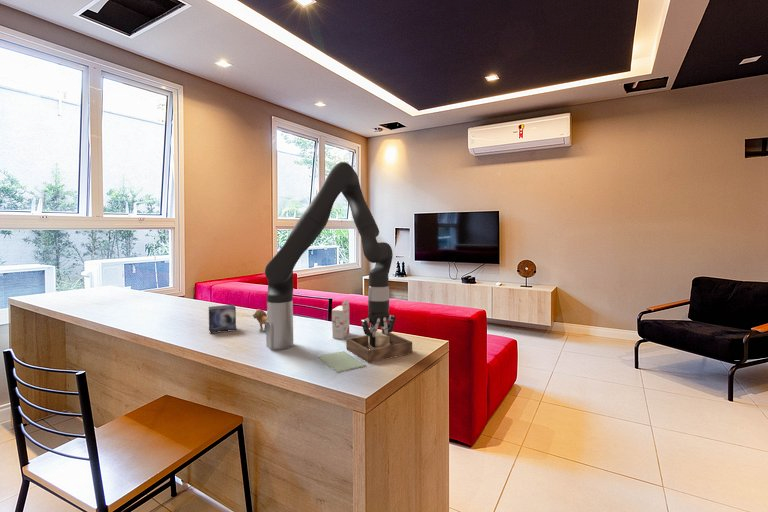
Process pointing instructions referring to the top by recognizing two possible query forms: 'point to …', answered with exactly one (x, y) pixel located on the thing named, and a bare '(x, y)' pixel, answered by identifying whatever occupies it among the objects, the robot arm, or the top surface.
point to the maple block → (379, 340)
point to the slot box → (396, 349)
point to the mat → (341, 361)
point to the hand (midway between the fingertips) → (378, 345)
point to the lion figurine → (260, 317)
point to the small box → (222, 318)
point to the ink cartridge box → (340, 321)
